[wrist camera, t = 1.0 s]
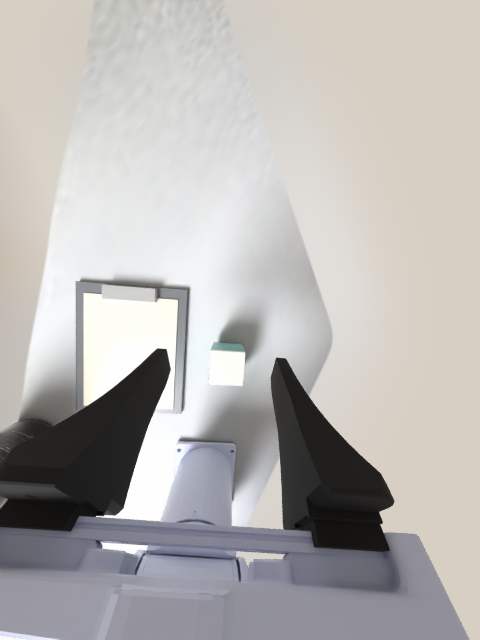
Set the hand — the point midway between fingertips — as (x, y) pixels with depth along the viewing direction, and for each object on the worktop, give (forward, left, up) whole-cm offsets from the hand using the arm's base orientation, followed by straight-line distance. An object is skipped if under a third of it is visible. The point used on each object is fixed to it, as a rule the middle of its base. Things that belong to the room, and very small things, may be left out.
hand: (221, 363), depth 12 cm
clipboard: (-3, +12, -12) cm, 17 cm away
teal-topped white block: (-3, 0, -12) cm, 12 cm away
